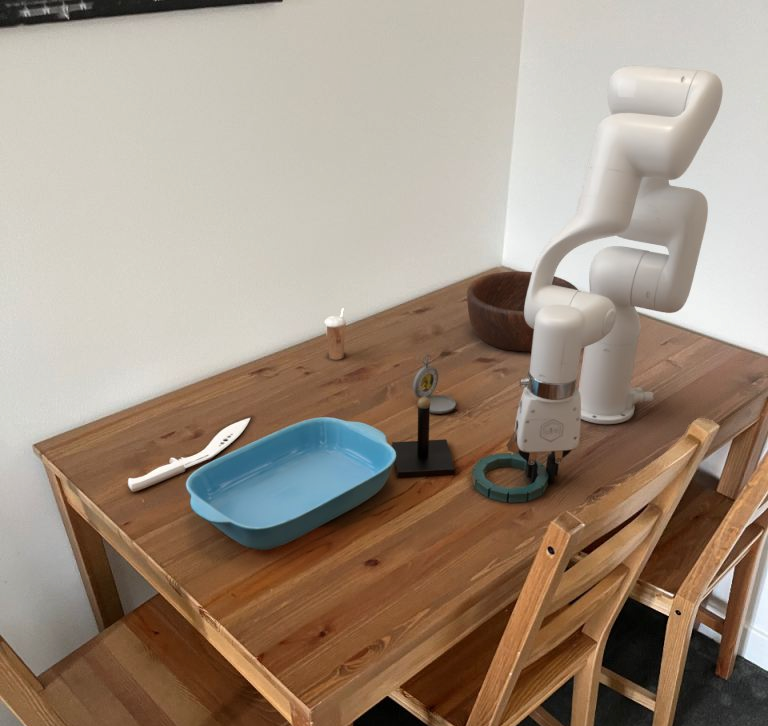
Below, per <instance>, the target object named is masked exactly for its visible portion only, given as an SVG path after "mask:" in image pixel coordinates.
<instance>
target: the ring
mask: <svg viewBox="0 0 768 726" xmlns="http://www.w3.org/2000/svg"><path fill="white" fill-rule="evenodd" d="M536 463H537V465H538V469H537V478H536V480H535V482H534V483H532V484H531V483H530V484H527V485H525V486H522V487H521V486H520V487H506V486H502V485H497V484H495V483H493V482H492V481H491V480H489V479H487V478H486V474H487V473H488V472H490V471H493V470H495V469H497V468H509V467H511V468H515V469H519V470H524V471H525V469H526V460H525V459H524V458H522V457H521V456H520V455H519V454H516V453H513V452H502V453H500V452H499V453H494V454H493V453H492V454H489V455H486V456H485V457H481V458H479V460H477V462H476V464H475V465H474V466H473V467H472V471H471V480H472V483H473V486H474V489H475V490H476V491H477V492H479V493H480V494H481V495H483V496H485V497H486V498H489V499H490V500H494V501H498V502H503V503H509V504H513V503H527V502H531V501H533V500H535V499H537V498H539V497H542V495H544V493H545V491H546V489H547V488H548V485H549V481H548V478H549V475H548V473H547V471H546V465H544V464H543V463H541V462H540V461H538V460H536Z"/></svg>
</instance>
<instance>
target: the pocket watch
mask: <svg viewBox="0 0 768 726" xmlns="http://www.w3.org/2000/svg"><path fill="white" fill-rule="evenodd" d="M426 356H428V358H429V359H427V358H426V359H425V361H423V360H424V358H425V357H426ZM431 359H432V356H431V355H430V354H429V353H427V354H424V355H422V357H421V360H420V361H421V363H422V364H424V366H423V367H421V368H420V369H419V370H418V371H417V373H416V375H415V377H414V378H413V382H412V391H413V394H414V395H415V396H416V397H417V398H418V399H420V398H421V397H427V398H428V399H429V400H430V403H431V404H430V414H431V413H432V414H438V415H441V414H448V413H450V412H453V410H455V408H456V406H457V405H456V400H455V399H454V398H452V397H451V396H449V395H444V394H433V393H434V392H435V390H436V388H437V385H438V382H439V372H438V371H439V370H438V369H437V368H436V367H435V366H433V365H429V364H430V361H431Z"/></svg>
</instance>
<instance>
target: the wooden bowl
mask: <svg viewBox="0 0 768 726" xmlns="http://www.w3.org/2000/svg"><path fill="white" fill-rule="evenodd" d="M531 275H532V271H523V270H522V271H521V270H520V271H518V270H517V271H514V270H513V271H501V272H495V273H494V272H493V273H490V274H487V275H483V276H481V277H479V278H477V279H475V280H473V281H472V282H470V284H469V285H468V287H467V290H466V300H467V310H468V311H467V312H468V316H469V317H468V319H469V321H470V324H471V326H472V329H473V332H474V333H475V334H476V336H477V337H478V338H479V339H480V340H481V341H482V342H484V343H486V344H488V345H490V346H492V347H495V348H498V349H501V350H505V351H506V350H507V351H512V352H532V343H533V334H534V329H533V328H531V327H530V326H529V325H528V324H527V323H526V321H525V317H524V306H525V300H526V295H527V291H528V287H529V283H530V279H531ZM552 285H556V286H560V287H565V288H570V289H575V290H579V288H578V287H576V285H574V284H572V283H571V282H569V281H568V280H566V279H564V278H561V277H558V276H555V275H554V278H553V281H552Z"/></svg>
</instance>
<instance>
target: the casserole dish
mask: <svg viewBox="0 0 768 726" xmlns="http://www.w3.org/2000/svg"><path fill="white" fill-rule="evenodd" d="M395 460H396V452H395V450H394V449H393V447H392V445H391V444H389V443H388V441H387V436H386V434H385V433H384V432H383V431H381V430H380V429H377V427H374V426H371V425H370V424H368V423H364V422H360V421H350V420H348V421H347V420H344V419H340V418H336V417H328V416H327V417H325V416H323V417H321V416H320V417H313V418H308V419H306V420H302V421H299V422H297V423H294V424H291V425H289V426H287V427H283V428H281V429H279V430H277V431H275V432H273V433H270V434H268V435H266V436H263V437H261V438H259V439H256V440H255V441H253V442H250V443H248V444H246V445H244V446H241V447H240V448H239V447H238V448H237V449H235V450H233V451H230V452H227V454H224V455H222V456H220V457H218V458H216V459H214V460H212V461H210V462H208V463H206V464H204V465H202V466H201V467H199V468H198V469H196V470H194V471H193V472H192V473H191V474H190V475H189V476H188V478H187V479H186V482H185V489H186V490H187V493H188V494H189V496H190V503H189V504H190V508H191V510H192V511H193V512H194V513H195V514H196V515H197V516H199V517H200V518H201V519H203V520H205V521H207V522H209V523H210V524H212V525H213V526H214V527H215V528H217V529H218V530H219V531H220V532H222V533H223V534H225V535H226V536H227V537H229V539H232V540H233V541H235V542H237V543H238V544H240V545H242V546H243V547H245V548H249V549H251V550H258V551H266V550H271V549H275V548H278V547H281V546H283V545H286V544H288V543H291V542H292V541H295V540H297V539H299V538H301V537H303V536H305V535H306V534H308V533H310V532H312V531H314V530H316V529H317V528H319V527H321V526H323V525H325V524H327V523H328V522H330V521H332V520H334V519H337V518H338V517H340V516H341V515H343V514H346V513H347V512H349V511H350V510H353V509H354V508H356V507H358V506H359V505H361V504H363V503H365V502H366V501H368V500H370V499H371V498H372V497H373V496H375V495H376V494H377V493H378V492H380V491H381V490H382V489H383V487H384V486H385V485H386V482H387V481H388V479H389V477H390V474H391V472H392V470H393V466H394V465H395Z"/></svg>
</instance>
